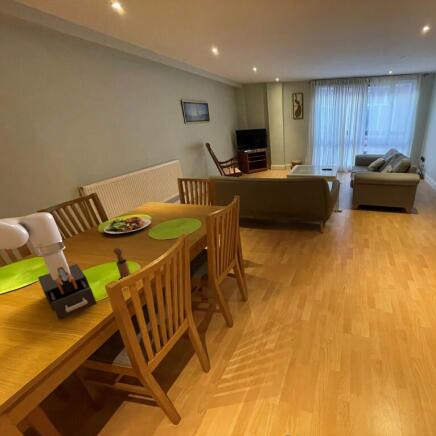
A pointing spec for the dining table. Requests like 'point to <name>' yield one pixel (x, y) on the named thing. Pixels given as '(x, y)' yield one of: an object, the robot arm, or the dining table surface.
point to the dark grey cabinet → (51, 284)
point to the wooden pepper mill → (121, 263)
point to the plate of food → (127, 225)
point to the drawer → (72, 300)
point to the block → (60, 283)
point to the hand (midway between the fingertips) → (68, 288)
